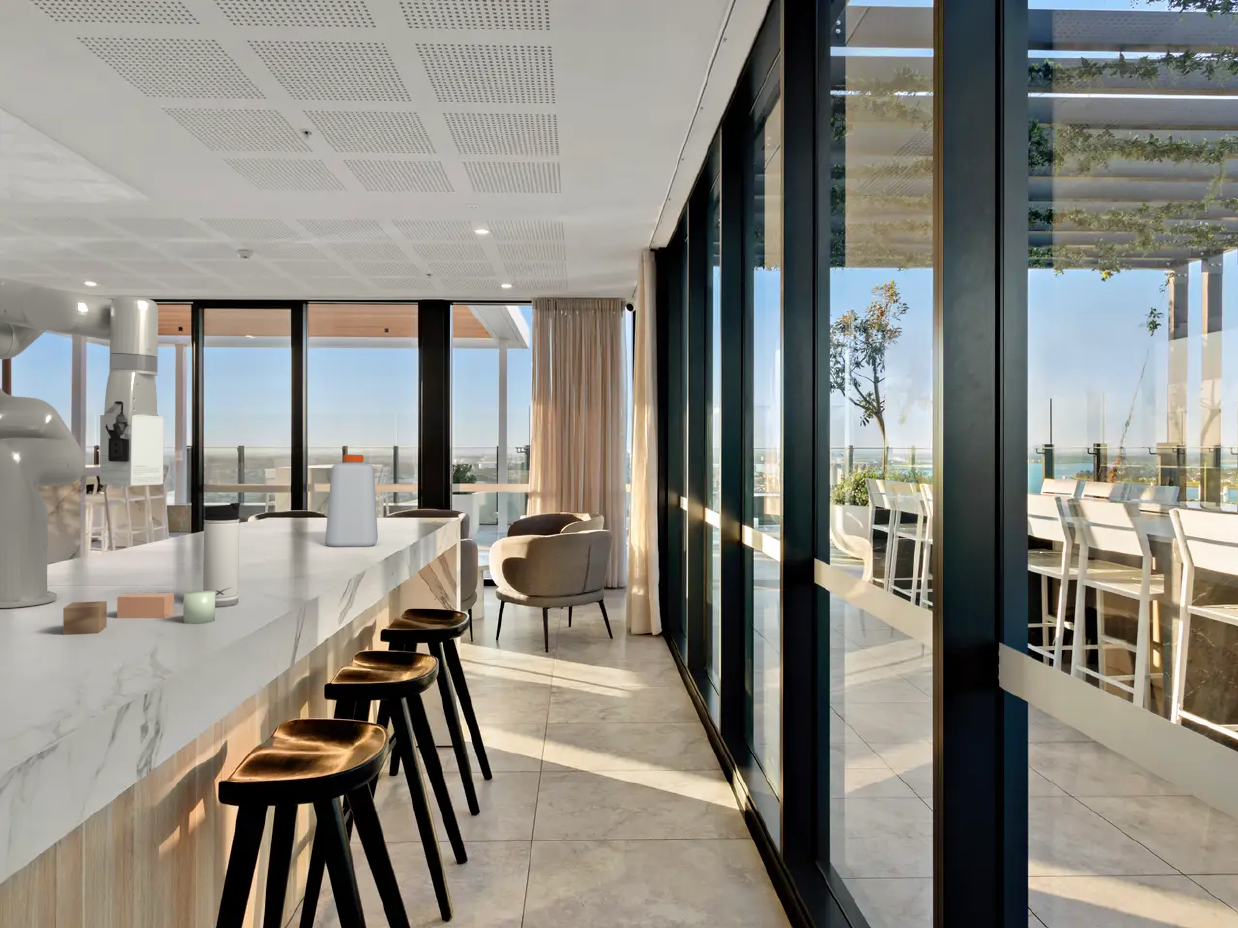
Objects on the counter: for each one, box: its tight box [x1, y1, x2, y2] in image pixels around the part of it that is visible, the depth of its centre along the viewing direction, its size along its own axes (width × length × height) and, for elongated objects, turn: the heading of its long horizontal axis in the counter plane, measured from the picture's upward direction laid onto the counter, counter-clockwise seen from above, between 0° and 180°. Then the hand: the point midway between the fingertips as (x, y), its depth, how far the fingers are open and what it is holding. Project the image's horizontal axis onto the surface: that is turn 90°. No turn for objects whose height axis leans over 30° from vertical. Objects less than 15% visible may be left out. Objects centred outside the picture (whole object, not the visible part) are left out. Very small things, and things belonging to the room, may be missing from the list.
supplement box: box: [99, 414, 165, 487], centre depth 150 cm, size 7×7×13 cm
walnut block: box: [62, 600, 108, 636], centre depth 137 cm, size 5×5×4 cm
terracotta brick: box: [116, 592, 175, 619], centre depth 149 cm, size 8×4×4 cm, turn 96°
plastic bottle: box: [325, 454, 379, 548], centre depth 257 cm, size 15×15×28 cm
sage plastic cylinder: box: [182, 590, 216, 625], centre depth 146 cm, size 5×5×5 cm
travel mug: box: [202, 502, 241, 608], centre depth 161 cm, size 6×7×20 cm
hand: (132, 460), depth 150 cm, fingers closed on supplement box, 9 cm apart
